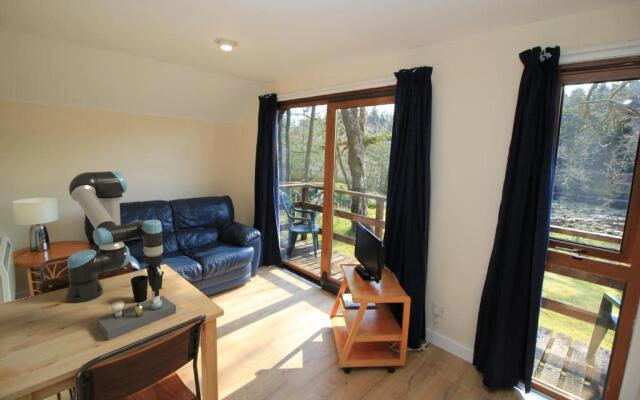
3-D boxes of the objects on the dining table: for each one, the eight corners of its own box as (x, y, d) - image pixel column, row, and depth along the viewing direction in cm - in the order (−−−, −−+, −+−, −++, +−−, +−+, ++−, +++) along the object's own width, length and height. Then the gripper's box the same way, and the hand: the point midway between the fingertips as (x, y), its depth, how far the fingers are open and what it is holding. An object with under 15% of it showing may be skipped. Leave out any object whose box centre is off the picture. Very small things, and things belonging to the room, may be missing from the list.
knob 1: (110, 317, 133) (109, 304, 132) (122, 313, 137) (121, 300, 136) (114, 321, 130) (113, 308, 129) (126, 317, 134) (125, 303, 133)
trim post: (134, 315, 134) (133, 304, 133) (141, 313, 136) (140, 302, 135) (137, 318, 132) (136, 306, 131) (144, 315, 134) (143, 304, 133)
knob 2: (149, 315, 141) (148, 302, 140) (159, 311, 145) (159, 298, 144) (153, 318, 138) (153, 305, 137) (164, 314, 142) (163, 302, 141)
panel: (97, 326, 131) (96, 318, 130) (162, 303, 153) (162, 295, 152) (108, 340, 123) (107, 331, 122) (176, 313, 145) (175, 305, 144)
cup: (141, 304, 150) (140, 282, 148) (128, 302, 152) (126, 280, 150) (152, 297, 158) (151, 276, 156) (140, 295, 159) (138, 274, 157)
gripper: (138, 252, 138) (141, 300, 142) (151, 259, 130) (154, 309, 134) (155, 248, 143) (158, 294, 147) (168, 255, 136) (170, 303, 140)
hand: (156, 301), depth 141 cm, fingers closed
